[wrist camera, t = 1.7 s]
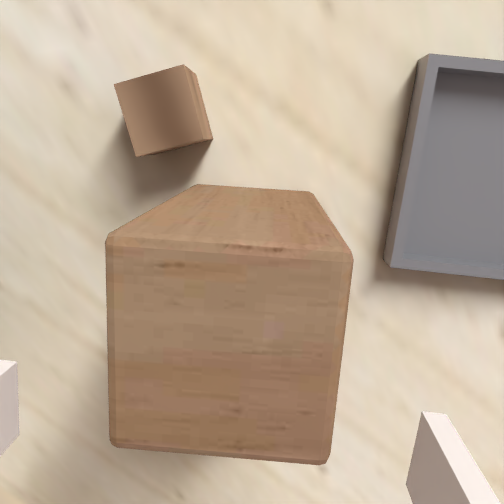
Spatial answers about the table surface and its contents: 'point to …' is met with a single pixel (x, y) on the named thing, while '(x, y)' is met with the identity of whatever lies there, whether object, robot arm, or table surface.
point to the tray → (451, 171)
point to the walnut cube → (163, 111)
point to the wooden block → (227, 325)
